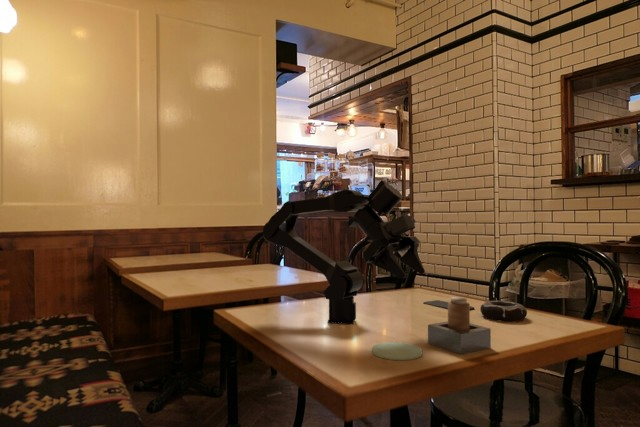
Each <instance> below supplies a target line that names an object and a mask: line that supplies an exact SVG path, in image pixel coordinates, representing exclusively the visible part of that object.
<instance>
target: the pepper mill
mask: <svg viewBox="0 0 640 427" xmlns="http://www.w3.org/2000/svg"><path fill="white" fill-rule="evenodd" d="M447 302H448V309H447V321H448V328H449V329H453V330H456V331H459V332H461V331H466V330H470V323H471V322H470V318H471V317H470V316H471V315H470V311H471V310H470V306H471V305H470V303H469V302H467V298H466V297H461V296H454V297H453V296H452V297H450V300H449V301H447Z"/></svg>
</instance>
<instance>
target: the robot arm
mask: <svg viewBox="0 0 640 427" xmlns="http://www.w3.org/2000/svg"><path fill="white" fill-rule="evenodd" d="M403 196H404V195H403V194H402V193H401V192H400V191H399V190H398V188H395V187H393V186H392V185H391V184H390V183H388V182H387V181H385V180H382V179H381V180H380V181H379V182H378V184H377V185H376V186H375V188H374V189H373V190H372V191H371V192H370V193H369V194H363V193H362V192H361V191H360V190H353V189H346V188H345V189H342V190H338V191H335V192H333V193H330V194H329V195H327V196H324V197H323V196H322V197H321V196H320V197H316V198H307V199H301V200H287V201H286V202H284V203H283V204H282V206H281V208H280V209H278V210H277V211H276V212H275V213H274V214H273V215H272V216H271V217H270V218H269V220H268V221H267V222H265V224H264V226H263V228H262V236H263V239H264V240H265V241H267V242H269V243H271V244H273V245H274V246H275V245H276V246H279V247H282V248H286V249H288V250H289V251H290V252H291V253H293V254H294V255H295V256H297V257H298V258H300V259H301V260H303V261H304V262H305V263H307V264H309V266H311V267H312V268H313V269H315V270H317V271H318V272H320V273H321V274H322V275H323V276H324V277H325V279H326V281H327V283H328V286H327V287H326V289H324V291H323V293H324V297H325V300H328V320H327V323H328V324H344V325H345V324H346V325H352V324H354V321H356V319H357V302H355V297H356V296H357V295H358V293H359V290H360V289H361V288H362V287H363V285H364V284H363V283H364V278H363V274H362V273H361V271H359V267H356V266H354V265H353V264H351V262H349V261H347V260H343V261H342V260H341V261H335V260H333V259H332V258H330V257H329V256H328V255H326V254H325V253H323V252H322V251H320V249H319V250H318V249H317V248H316V247H314V246H313V245H311V244H310V243H309V242H307V241H306V240H304V239H303V238H301V237H300V236H299V235H298V233H297V231H296V228H295V227H296V225H297V223H298V218H299V216H300V215H303V214H312V213H321V212H330V211H332V212H343V213H345V212H346V213H354V214H353V215H352V216H351V215H349V216H348V221H347V227H350V228H356V227H359V229H360V230H361V231H362V233H364V235H365V237H364V240H365V241H366V242H367V243H368V242H369V243H368V245H367V246H366V247H365V248H364V250H362V252H361V253H362V256H361V258H362V259H363V260H364V261H365V263H366V264H371V265H372V266H376V267H378V268H380V269H382V270H384V271H387V272H389V273H391V274H393V275H395V277H396V276H397V277H399V278H400V279H405V278H406V277H407V273H406V272H405V270H404V268H402V266H401V265H400V263H399V262H401V263H403V264H404V265H406V266H408V267H409V268H411V269H412V270H413V271H415V272H417V273H418V274H420V275H424V274H425V272H426V271H425V268H424V266H423V263H422V261H421V259H420V257H419V253H418V249H419V247H420V243H421V241H420V240H419V239H418V237H416V236H414V235H413V236H411V235H410V236H404V235H403V234H405V233H407V232H408V231H410V230H414V229H416V225H415V223H416V219H415V218H413V216H411V215H406V214H405V215H401V216H398V217H397V218H395V219H393V220H391V221H387V222H386V221H384V219H383V218H382V217H381V216H382V215H383V214H384V215H389V214H390V213H391V211H392V210H393V209H394V208H395V207H396V206H397V205H398V204H399V203H400V202H401V201H402V199H403V198H404V197H403ZM380 215H381V216H380ZM395 256H396V257H397V258H398V260H399V261H398V260H397V259H396V257H395Z"/></svg>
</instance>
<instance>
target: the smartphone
mask: <svg viewBox="0 0 640 427" xmlns="http://www.w3.org/2000/svg"><path fill="white" fill-rule="evenodd" d="M448 302H449V301H444V300H439V299H438V300H427V301H423V302H422V303H423V304H424V305H427V306H432V307H436V308H441V309H445V310H448ZM473 310H475V307H474V306H471V305H470V311H473Z"/></svg>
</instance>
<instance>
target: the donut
mask: <svg viewBox="0 0 640 427" xmlns="http://www.w3.org/2000/svg"><path fill="white" fill-rule="evenodd" d="M480 313H481V315H482V316H483V317H485V318H487V319H488V318H489V319H488V320H492V319H493V320H492V321H497V320H498V322H505V321H508V323H509V322H510V323H513V321H516V322H520V321H523V320H525V318H526V317H527V314H528V310H527V309H526V307H525V306H524V305H522V304H521V303H518V302H514V301H507V300H489V301H485V302H483V303H482V304H481V305H480Z"/></svg>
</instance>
